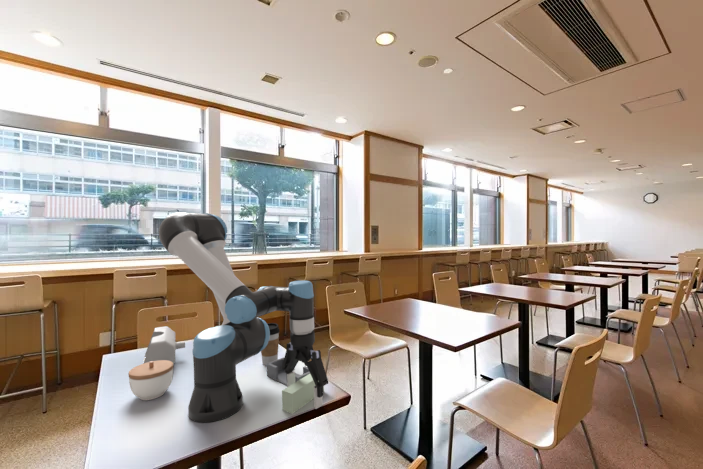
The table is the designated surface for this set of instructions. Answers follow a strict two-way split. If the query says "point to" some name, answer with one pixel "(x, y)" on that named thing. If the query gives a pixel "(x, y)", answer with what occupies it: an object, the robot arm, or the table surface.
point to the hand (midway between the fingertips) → (304, 399)
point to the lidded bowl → (151, 379)
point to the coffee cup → (271, 345)
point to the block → (298, 394)
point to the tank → (162, 345)
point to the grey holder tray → (282, 372)
